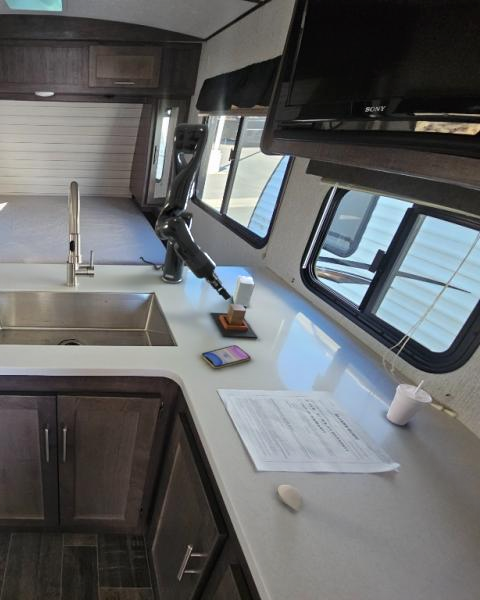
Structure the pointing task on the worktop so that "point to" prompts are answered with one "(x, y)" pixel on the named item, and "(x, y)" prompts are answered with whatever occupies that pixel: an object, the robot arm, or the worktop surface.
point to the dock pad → (233, 327)
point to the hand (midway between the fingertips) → (224, 292)
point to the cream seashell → (290, 496)
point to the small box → (243, 290)
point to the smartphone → (225, 356)
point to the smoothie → (407, 403)
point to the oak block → (235, 315)
